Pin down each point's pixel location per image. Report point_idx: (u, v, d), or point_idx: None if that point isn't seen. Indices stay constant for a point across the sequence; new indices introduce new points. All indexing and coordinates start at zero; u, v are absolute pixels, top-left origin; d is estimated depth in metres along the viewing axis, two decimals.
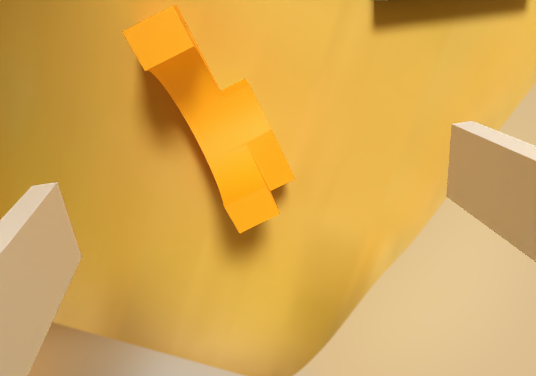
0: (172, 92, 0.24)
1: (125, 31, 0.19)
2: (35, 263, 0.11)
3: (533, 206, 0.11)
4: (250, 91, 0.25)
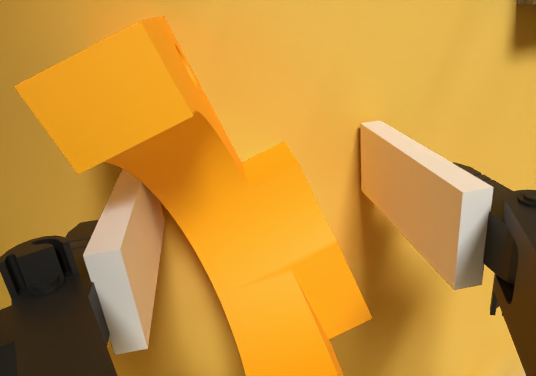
0: (153, 184, 0.12)
1: (22, 85, 0.08)
2: (147, 218, 0.12)
3: (410, 197, 0.12)
4: (299, 174, 0.14)
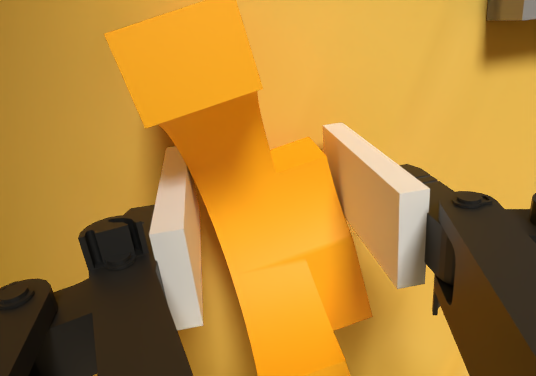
0: (190, 156, 0.13)
1: (112, 34, 0.08)
2: (192, 204, 0.13)
3: (362, 198, 0.13)
4: (325, 167, 0.14)
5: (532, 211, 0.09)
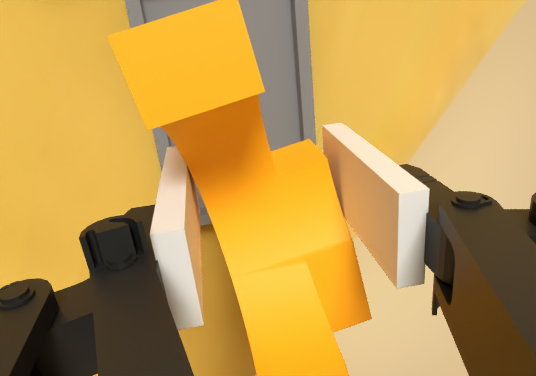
0: (190, 158, 0.13)
1: (115, 36, 0.08)
2: (192, 204, 0.13)
3: (361, 198, 0.13)
4: (326, 170, 0.14)
5: (531, 211, 0.09)
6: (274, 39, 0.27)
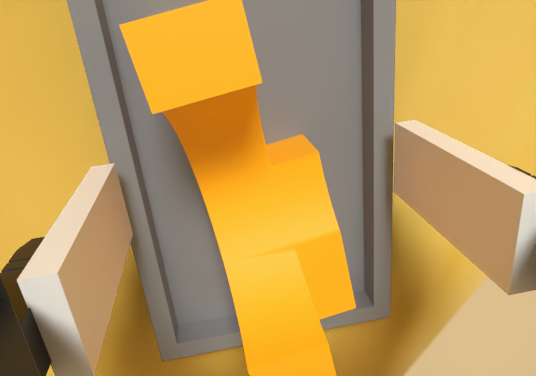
0: (189, 146, 0.13)
1: (127, 26, 0.09)
2: (105, 233, 0.12)
3: (456, 199, 0.12)
4: (317, 163, 0.15)
5: None
6: (330, 60, 0.16)
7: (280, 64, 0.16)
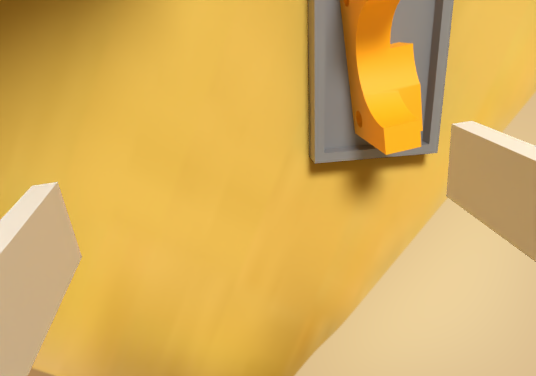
0: (359, 31, 0.30)
1: None
2: (35, 263, 0.11)
3: (533, 206, 0.11)
4: (411, 49, 0.31)
5: None
6: (420, 2, 0.32)
7: None
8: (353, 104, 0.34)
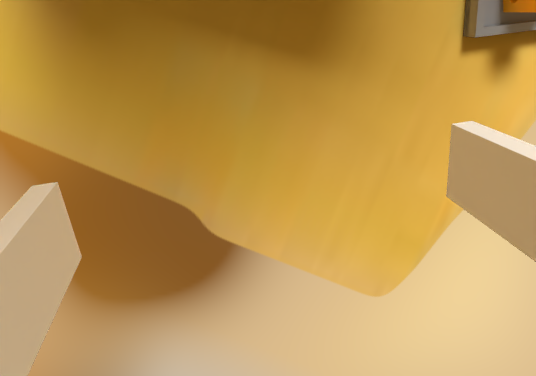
0: None
1: None
2: (35, 263, 0.11)
3: (533, 206, 0.11)
4: None
5: None
6: None
7: None
8: None
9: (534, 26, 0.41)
